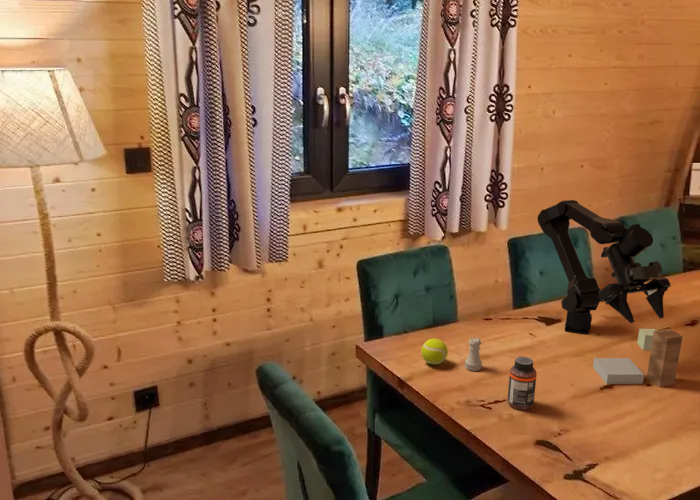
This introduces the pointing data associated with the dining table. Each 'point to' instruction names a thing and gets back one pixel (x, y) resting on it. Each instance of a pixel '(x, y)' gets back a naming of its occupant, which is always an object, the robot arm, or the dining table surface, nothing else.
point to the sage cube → (645, 338)
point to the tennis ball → (434, 351)
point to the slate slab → (618, 371)
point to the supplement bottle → (522, 384)
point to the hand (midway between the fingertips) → (647, 320)
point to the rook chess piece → (473, 355)
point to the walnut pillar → (664, 357)
